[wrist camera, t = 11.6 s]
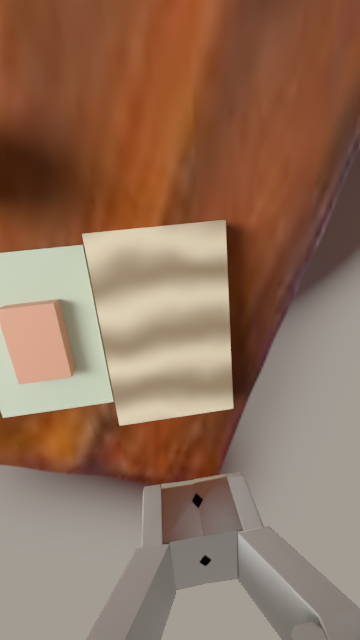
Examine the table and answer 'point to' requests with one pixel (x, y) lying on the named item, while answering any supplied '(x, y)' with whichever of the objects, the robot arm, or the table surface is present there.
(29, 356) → the pink rectangular block
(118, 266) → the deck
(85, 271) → the mat
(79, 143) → the table surface
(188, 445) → the table surface
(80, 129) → the table surface
